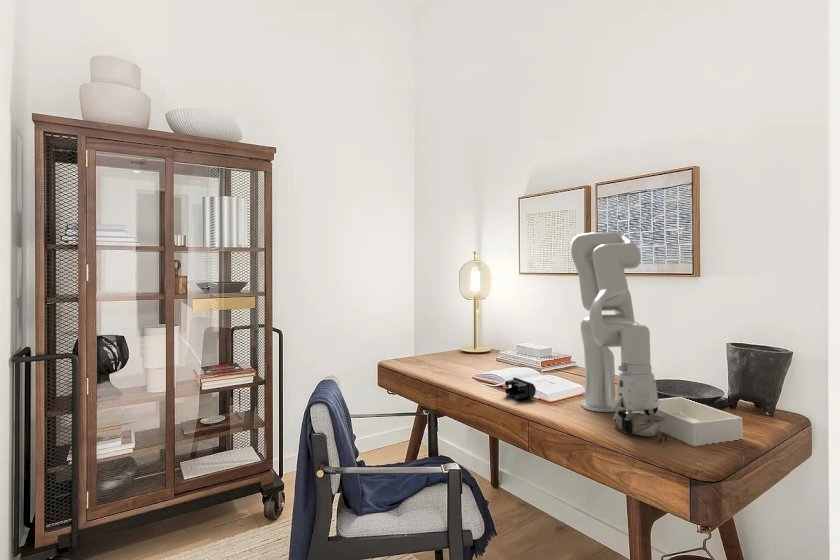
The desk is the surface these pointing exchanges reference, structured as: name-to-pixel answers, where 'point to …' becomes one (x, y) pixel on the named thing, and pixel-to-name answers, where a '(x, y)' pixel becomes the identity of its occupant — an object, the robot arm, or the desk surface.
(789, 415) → the desk surface
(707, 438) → the walled box
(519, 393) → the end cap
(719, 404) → the disk drive
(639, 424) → the decorative bird
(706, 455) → the desk surface
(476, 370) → the desk surface
